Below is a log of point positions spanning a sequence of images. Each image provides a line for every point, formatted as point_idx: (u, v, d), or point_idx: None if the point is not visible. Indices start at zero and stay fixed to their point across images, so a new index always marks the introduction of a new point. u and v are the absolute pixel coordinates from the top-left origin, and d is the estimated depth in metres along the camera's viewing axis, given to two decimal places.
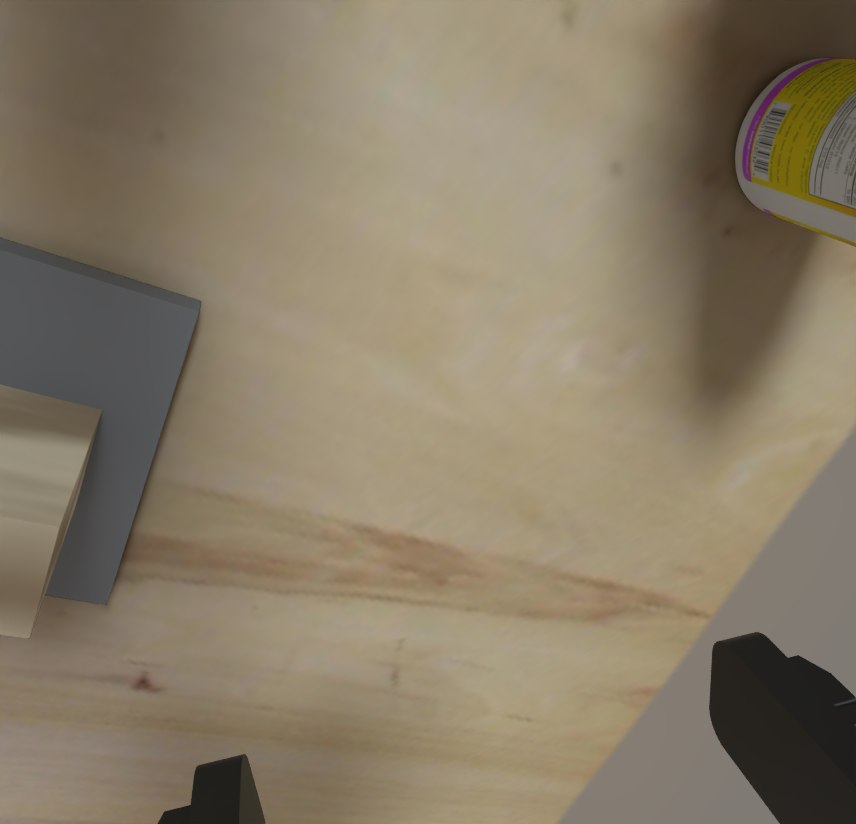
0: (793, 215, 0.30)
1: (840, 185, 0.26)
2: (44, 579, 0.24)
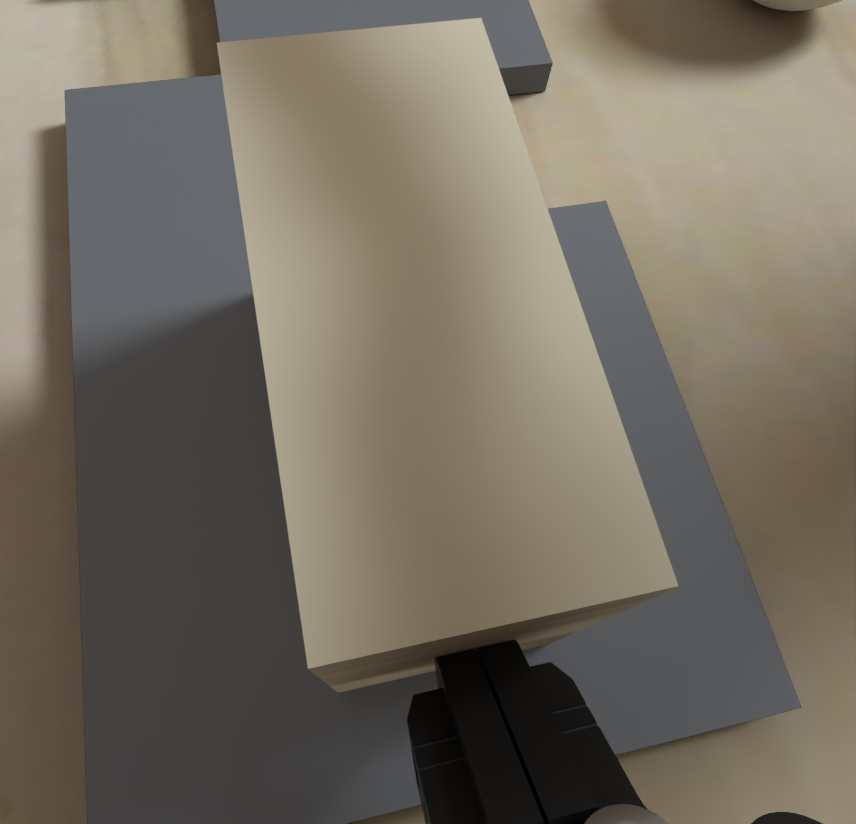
0: None
1: None
2: (516, 620, 0.09)
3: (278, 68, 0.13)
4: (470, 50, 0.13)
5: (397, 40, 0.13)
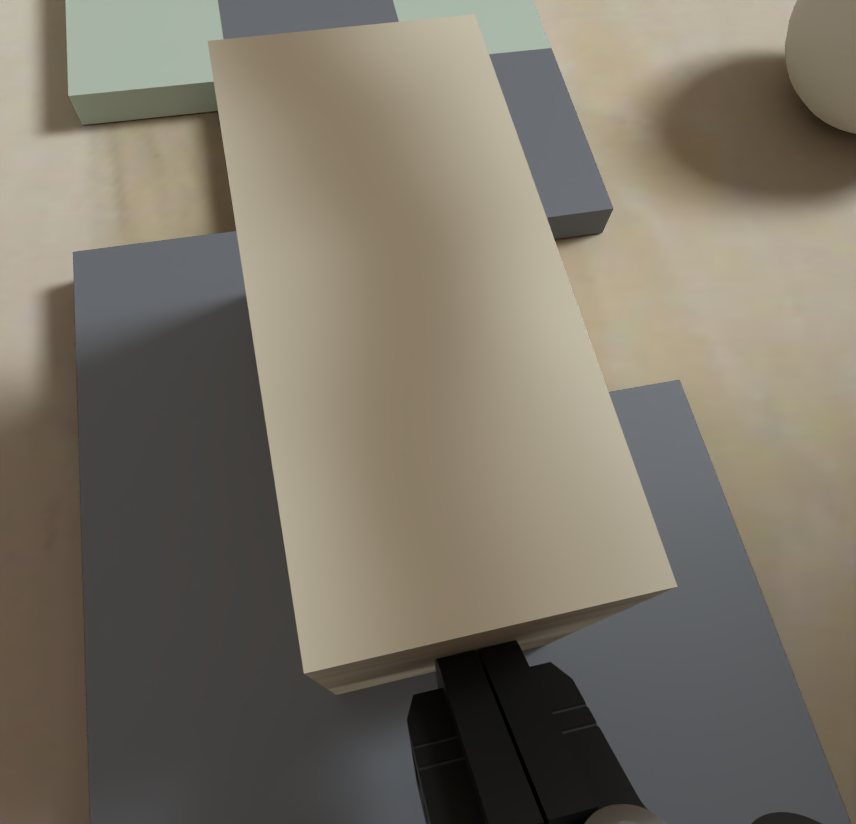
0: None
1: None
2: (514, 622, 0.09)
3: (270, 66, 0.13)
4: (463, 47, 0.13)
5: (390, 38, 0.13)
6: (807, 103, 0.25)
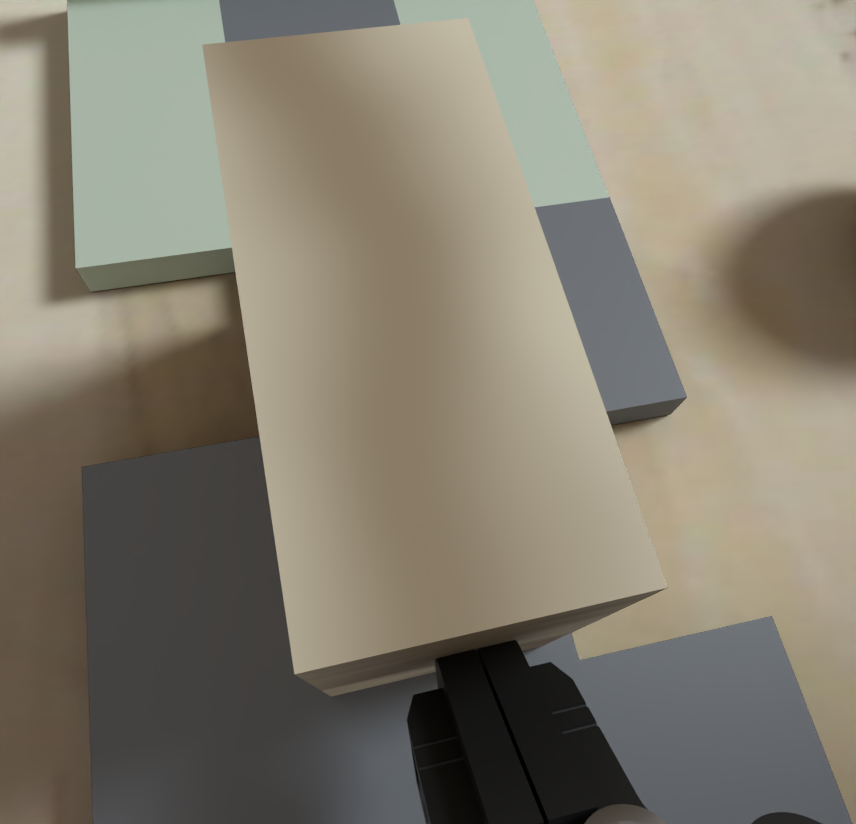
0: None
1: None
2: (505, 623, 0.09)
3: (264, 70, 0.13)
4: (457, 50, 0.13)
5: (384, 41, 0.13)
6: None
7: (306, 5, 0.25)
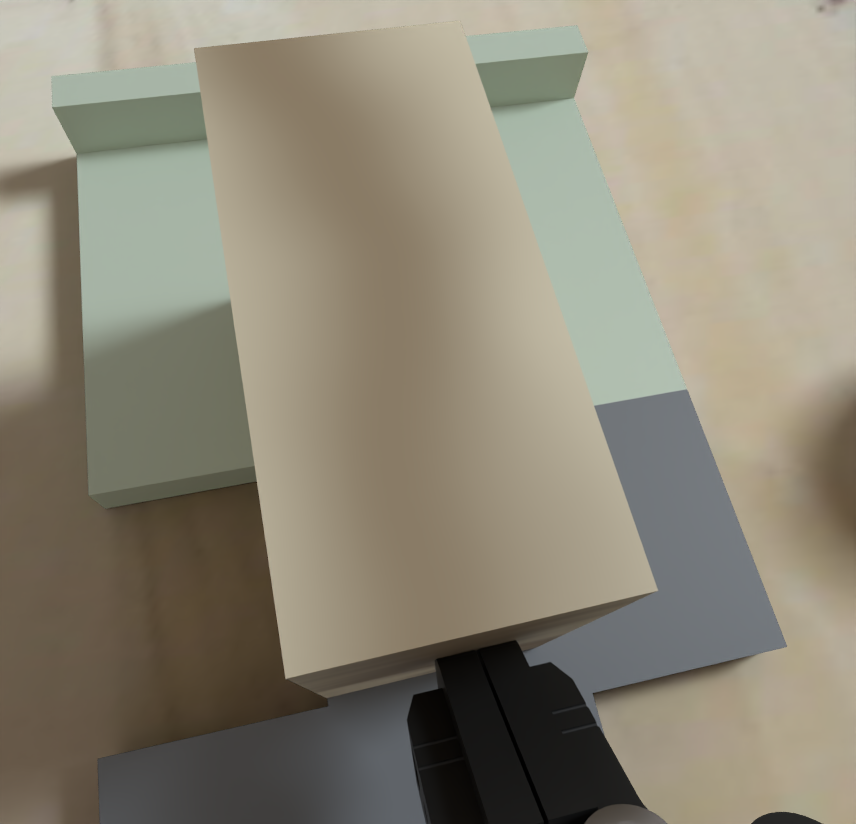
0: None
1: None
2: (495, 626, 0.09)
3: (256, 73, 0.13)
4: (449, 53, 0.13)
5: (376, 44, 0.13)
6: None
7: None
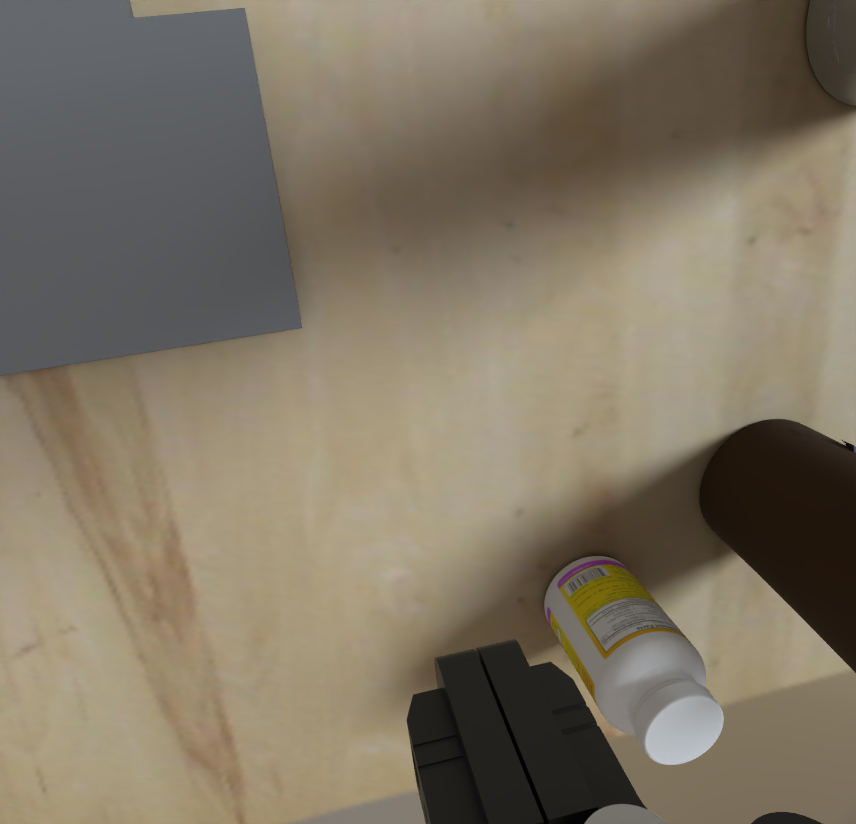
0: (563, 624, 0.46)
1: (605, 630, 0.42)
2: None
3: None
4: None
5: None
6: None
7: None
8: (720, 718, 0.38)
